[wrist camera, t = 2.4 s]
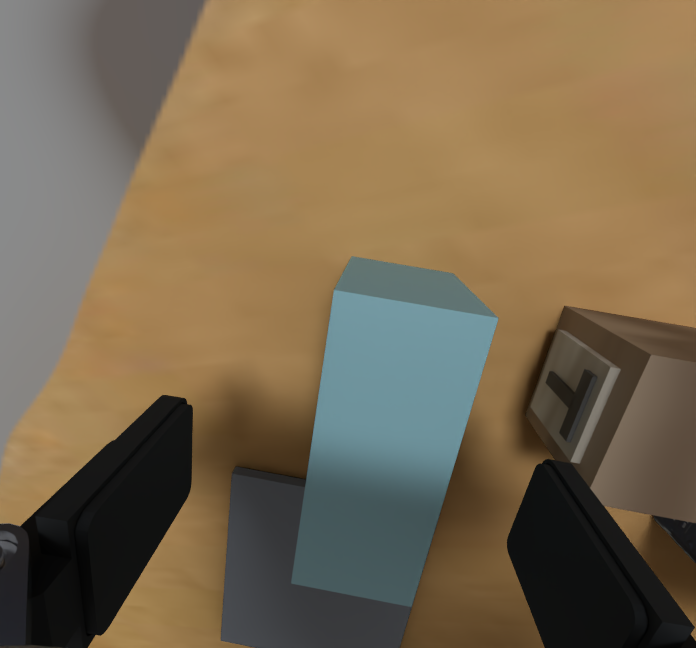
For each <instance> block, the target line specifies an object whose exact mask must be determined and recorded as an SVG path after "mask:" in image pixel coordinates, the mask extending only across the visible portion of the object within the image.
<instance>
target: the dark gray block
mask: <svg viewBox="0 0 696 648" xmlns="http://www.w3.org/2000/svg"><path fill="white" fill-rule="evenodd" d="M305 485H306V480H305V479H300V478H294V477H289V476H284V475H278V474H273V473H268V472H262V471H257V470H252V469H247V468H241V467H235V469H234V471H233V473H232V480H231V495H230V510H229V524H228V539H227V554H226V569H225V584H224V599H223V614H222V628H221V641H225V642H230V643H235V644H240V645H245V646H250V647H255V648H400V644H401V641H402V638H403V635H404V631H405V628H406V625H407V621H408V618H409V615H410V611H411V608H412V607H408V606H403V605H398V604H393V603H388V602H383V601H378V600H373V599H368V598H363V597H357V596H352V595H347V594H342V593H337V592H332V591H327V590H322V589H317V588H312V587H307V586H301V585H296V584H291V580H292V573H293V566H294V560H295V553H296V546H297V539H298V532H299V525H300V519H301V512H302V505H303V498H304V491H305ZM439 515H440V514H439ZM438 519H439V518H438ZM437 522H438V521H437ZM436 525H437V524H436ZM435 529H436V528H435ZM434 532H435V531H434ZM433 535H434V534H433ZM432 539H433V537H432ZM431 542H432V541H431ZM430 545H431V544H430ZM429 549H430V547H429ZM428 552H429V551H428ZM427 555H428V554H427ZM426 558H427V557H426ZM425 562H426V561H425ZM424 565H425V564H424ZM423 568H424V567H423ZM422 572H423V571H422ZM421 575H422V574H421ZM420 578H421V577H420ZM419 582H420V581H419ZM418 585H419V584H418ZM417 588H418V587H417ZM416 592H417V591H416ZM415 595H416V594H415ZM414 598H415V597H414ZM412 605H413V604H412Z"/></svg>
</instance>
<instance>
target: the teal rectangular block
mask: <svg viewBox="0 0 696 648" xmlns="http://www.w3.org/2000/svg"><path fill="white" fill-rule="evenodd" d="M497 322H498V317H497V316H496V315H495V314H494V313H493V312H492V311H491V310H490V309H489V308H488V307H487V306H486V305H485V304H484V303H483V302H482V301H481V300H480V299H479V298H478V297H477V296H476V295H474V294H473V293H472V292H471V291H470V290H469V289H468V288H467V287H466V286H465V285H464V284H463V283H462V282H461V281H460V280H459V279H458V278H457V277H456V276H455V275H454V274H453V273H448V272H442V271H436V270H430V269H424V268H418V267H412V266H406V265H400V264H394V263H388V262H383V261H377V260H371V259H365V258H359V257H353V256H352V257H351V259H350V261H349V263H348V264H347V266H346V268H345V270H344V272H343V274H342V276H341V278H340V280H339V281H338V283H337V285H336V287H335V289H334V294H333V300H332V307H331V314H330V321H329V328H328V335H327V341H326V348H325V355H324V362H323V369H322V375H321V382H320V389H319V396H318V403H317V410H316V416H315V423H314V430H313V437H312V444H311V450H310V457H309V464H308V471H307V478H306V485H305V491H304V498H303V505H302V512H301V519H300V525H299V532H298V539H297V546H296V553H295V560H294V566H293V573H292V580H291V584H296V585H301V586H307V587H312V588H317V589H322V590H327V591H332V592H337V593H342V594H347V595H352V596H357V597H363V598H368V599H373V600H378V601H383V602H388V603H393V604H398V605H403V606H408V607H412V604H413V601H414V597H415V594H416V591H417V587H418V584H419V581H420V577H421V574H422V571H423V567H424V564H425V561H426V557H427V554H428V551H429V547H430V544H431V541H432V537H433V534H434V531H435V528H436V524H437V521H438V518H439V514H440V511H441V508H442V504H443V501H444V498H445V494H446V491H447V488H448V484H449V481H450V478H451V474H452V471H453V468H454V464H455V461H456V458H457V454H458V451H459V448H460V444H461V441H462V438H463V435H464V431H465V428H466V425H467V421H468V418H469V415H470V411H471V408H472V405H473V401H474V398H475V395H476V391H477V388H478V385H479V381H480V378H481V375H482V371H483V368H484V365H485V361H486V358H487V355H488V351H489V348H490V345H491V342H492V338H493V335H494V332H495V328H496V325H497Z"/></svg>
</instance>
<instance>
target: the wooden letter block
mask: <svg viewBox="0 0 696 648" xmlns="http://www.w3.org/2000/svg"><path fill="white" fill-rule="evenodd" d="M525 416H526V417H527V419H528V420H529V422H530V423H531V425H532V426H533V428H534V429H535V431H536V432H537V434H538V435H539V437H540V438H541V440H542V441H543V443H544V444H545V445H546V447H547V448H548V450H549V451H550V453H551V454H552V456H553V457H554V459H555V460H556V461H562V462H568V463H571V464H572V465H573V466H574V467H575V469H576V470H577V471H578V473H579V474H580V475H581V477H582V478H583V479H584V481H585V482H586V483H587V485H588V486H589V487H590V489H591V490H592V491H593V493H594V494H595V495H596V497H597V498H598V499H599V501H600V502H601V503H602V505H603V506H607V507H612V508H617V509H623V510H628V511H634V512H639V513H644V514H650V515H655V516H660V517H666V518H671V519H676V520H682V521H687V522H692V523H696V328H692V327H687V326H681V325H675V324H669V323H663V322H657V321H651V320H646V319H640V318H634V317H628V316H622V315H616V314H610V313H605V312H599V311H593V310H587V309H581V308H575V307H569V306H564V309H563V311H562V314H561V317H560V320H559V323H558V325H557V328H556V331H555V334H554V337H553V339H552V342H551V345H550V348H549V351H548V353H547V356H546V359H545V362H544V365H543V367H542V370H541V373H540V376H539V378H538V381H537V384H536V387H535V390H534V392H533V395H532V398H531V401H530V404H529V406H528V409H527V412H526V415H525Z"/></svg>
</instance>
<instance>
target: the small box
mask: <svg viewBox="0 0 696 648" xmlns="http://www.w3.org/2000/svg"><path fill="white" fill-rule="evenodd" d="M654 519H655V521H656V522H657V523H658V524H659V525H660V526H661V527H662V528H663V529H664V530H665V531H666V532H667V533H668V534H669V535H670V536H671V538H672V539H673V540H674V541H675V542H676V543H677V544H678V545H679V546H680V547H681V548H682V549H683V550H684V552H685V553H686V554H687V555H688V556H689V557H690V558H691V559H692V560H693V561H694V562H695V563H696V523H692V522H687V521H682V520H676V519H671V518H666V517H660V516H655V515H654Z"/></svg>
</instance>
